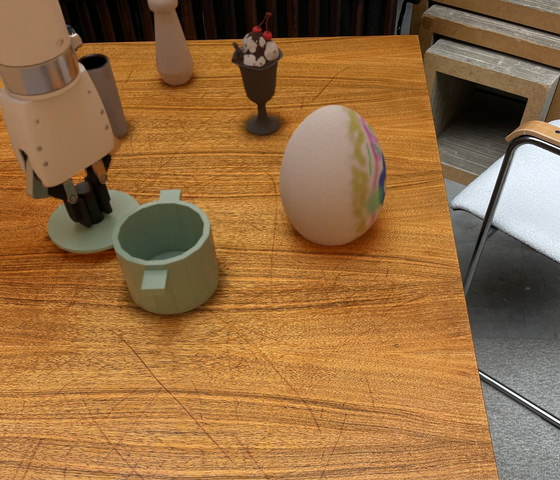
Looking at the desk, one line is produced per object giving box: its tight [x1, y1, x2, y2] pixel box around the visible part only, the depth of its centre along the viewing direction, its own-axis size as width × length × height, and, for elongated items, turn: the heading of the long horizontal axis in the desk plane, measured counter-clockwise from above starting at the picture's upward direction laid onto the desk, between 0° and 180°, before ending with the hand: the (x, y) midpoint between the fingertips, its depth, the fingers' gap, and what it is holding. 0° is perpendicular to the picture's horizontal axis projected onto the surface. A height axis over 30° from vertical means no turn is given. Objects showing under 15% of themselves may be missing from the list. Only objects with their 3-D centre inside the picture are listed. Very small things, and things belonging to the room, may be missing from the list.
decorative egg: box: [278, 104, 388, 247], centre depth 72 cm, size 12×12×15 cm
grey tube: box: [78, 53, 129, 139], centre depth 88 cm, size 4×4×10 cm
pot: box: [111, 188, 220, 316], centre depth 70 cm, size 10×16×8 cm, turn 179°
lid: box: [46, 181, 140, 255], centre depth 76 cm, size 11×11×6 cm
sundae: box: [230, 12, 284, 136], centre depth 85 cm, size 7×7×15 cm
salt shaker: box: [146, 0, 195, 87], centre depth 95 cm, size 6×6×13 cm
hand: (92, 214), depth 77 cm, fingers closed on lid, 2 cm apart
